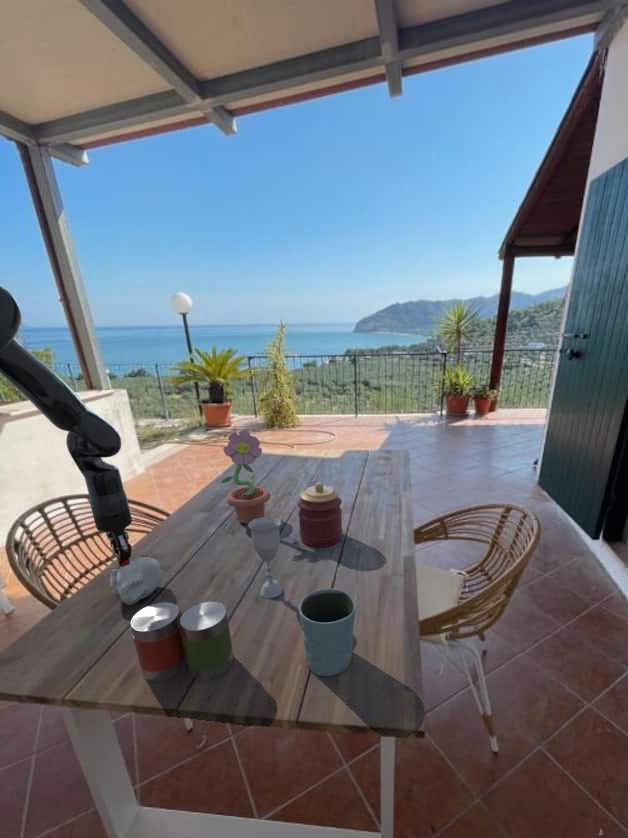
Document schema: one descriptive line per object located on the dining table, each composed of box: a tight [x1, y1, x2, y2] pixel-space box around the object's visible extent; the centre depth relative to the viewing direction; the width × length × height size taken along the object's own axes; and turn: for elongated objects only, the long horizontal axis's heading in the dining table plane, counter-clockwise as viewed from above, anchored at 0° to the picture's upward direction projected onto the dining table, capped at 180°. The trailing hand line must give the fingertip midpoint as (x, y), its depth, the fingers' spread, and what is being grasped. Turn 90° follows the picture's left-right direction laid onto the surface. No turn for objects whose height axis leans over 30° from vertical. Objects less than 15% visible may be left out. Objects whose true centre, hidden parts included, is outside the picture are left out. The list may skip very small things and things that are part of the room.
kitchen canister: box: [297, 482, 343, 548], centre depth 115 cm, size 13×13×18 cm
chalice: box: [247, 516, 283, 599], centre depth 90 cm, size 7×7×18 cm
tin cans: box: [130, 601, 234, 683], centre depth 70 cm, size 16×8×11 cm, turn 91°
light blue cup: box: [298, 588, 357, 677], centre depth 71 cm, size 10×10×12 cm
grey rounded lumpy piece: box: [109, 555, 163, 606], centre depth 91 cm, size 9×11×15 cm
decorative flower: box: [220, 430, 271, 525], centre depth 125 cm, size 15×14×30 cm
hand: (125, 570), depth 99 cm, fingers closed
